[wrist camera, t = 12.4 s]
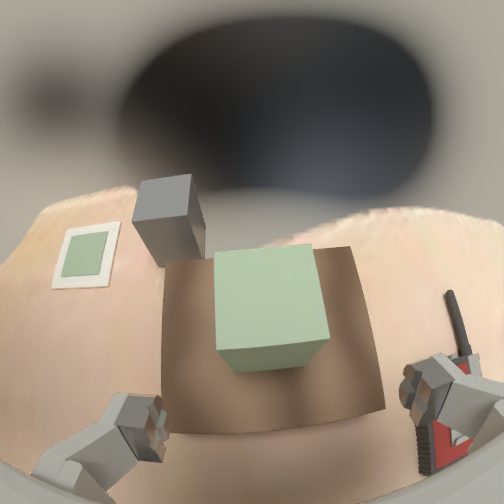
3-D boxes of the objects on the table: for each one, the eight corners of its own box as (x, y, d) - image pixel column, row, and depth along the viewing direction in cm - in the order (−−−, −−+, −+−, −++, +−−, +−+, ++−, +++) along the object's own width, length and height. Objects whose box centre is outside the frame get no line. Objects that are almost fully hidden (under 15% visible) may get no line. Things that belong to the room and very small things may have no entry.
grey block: (159, 267, 29) (131, 221, 22) (163, 230, 32) (141, 181, 25) (204, 264, 29) (187, 214, 22) (205, 225, 32) (191, 174, 25)
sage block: (234, 372, 18) (216, 349, 12) (230, 308, 21) (213, 252, 14) (305, 365, 18) (330, 338, 12) (295, 301, 21) (311, 243, 14)
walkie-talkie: (478, 453, 15) (449, 293, 26) (503, 452, 12) (469, 275, 22) (415, 487, 15) (388, 307, 26) (438, 494, 12) (406, 288, 22)
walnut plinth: (181, 428, 20) (163, 432, 16) (180, 287, 28) (165, 262, 23) (363, 410, 20) (385, 408, 16) (337, 272, 28) (349, 246, 24)
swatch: (52, 289, 28) (49, 287, 27) (68, 230, 32) (66, 228, 32) (109, 287, 28) (107, 285, 27) (121, 222, 33) (120, 219, 32)
